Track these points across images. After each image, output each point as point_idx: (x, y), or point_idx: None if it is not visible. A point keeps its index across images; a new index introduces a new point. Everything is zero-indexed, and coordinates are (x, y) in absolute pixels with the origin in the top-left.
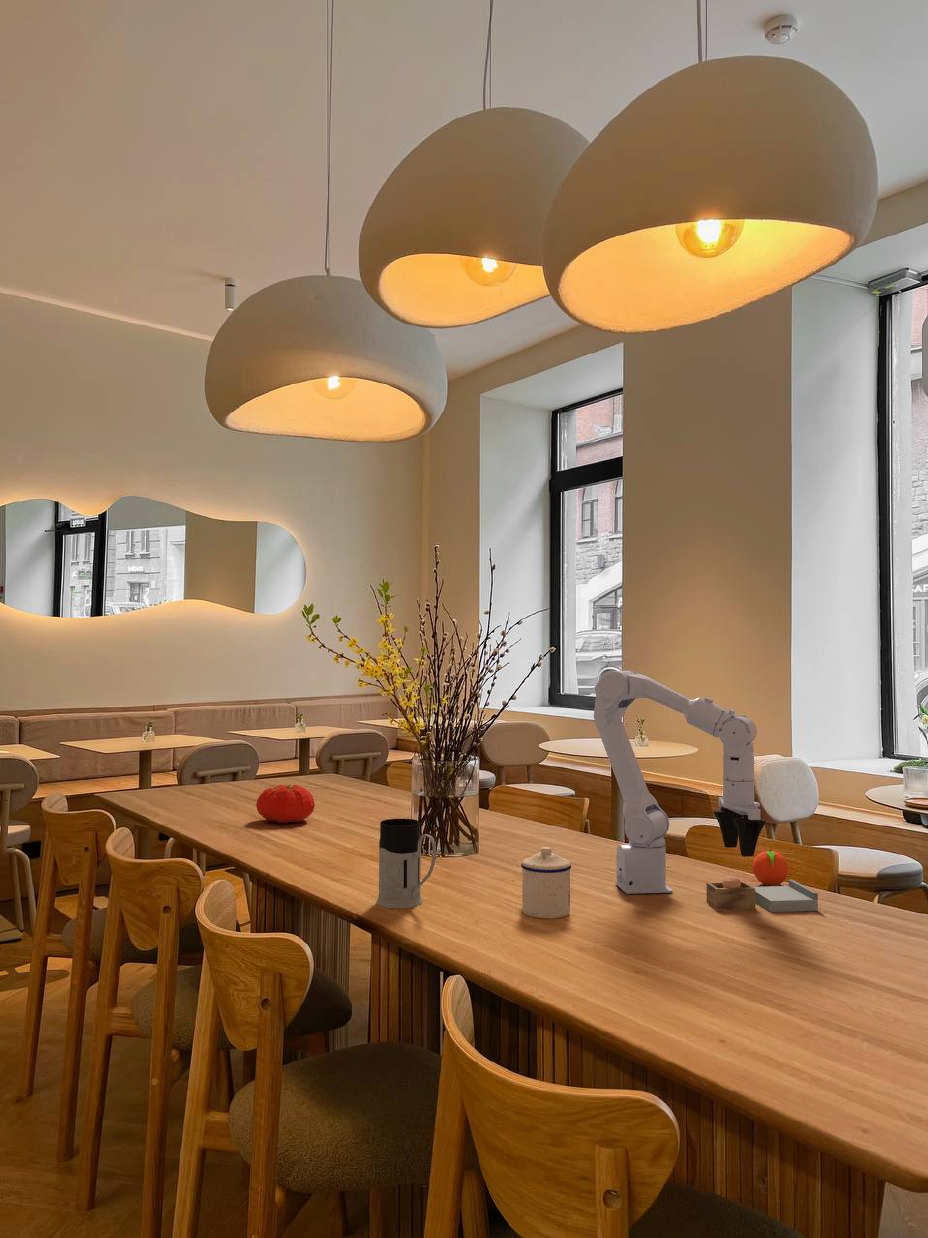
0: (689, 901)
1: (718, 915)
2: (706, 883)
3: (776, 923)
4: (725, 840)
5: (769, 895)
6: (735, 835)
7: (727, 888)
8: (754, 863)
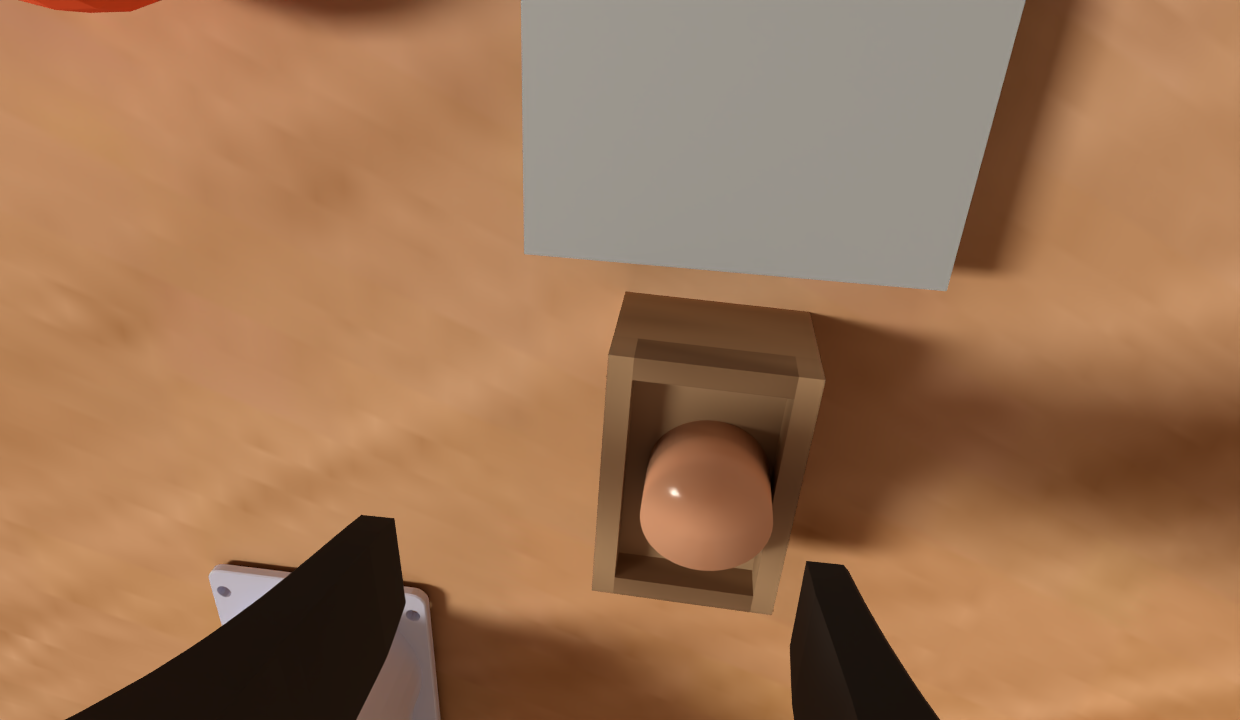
0: (590, 577)
1: (886, 568)
2: (594, 585)
3: (1174, 359)
4: (377, 669)
5: (797, 218)
6: (329, 621)
7: (773, 549)
8: (51, 7)
